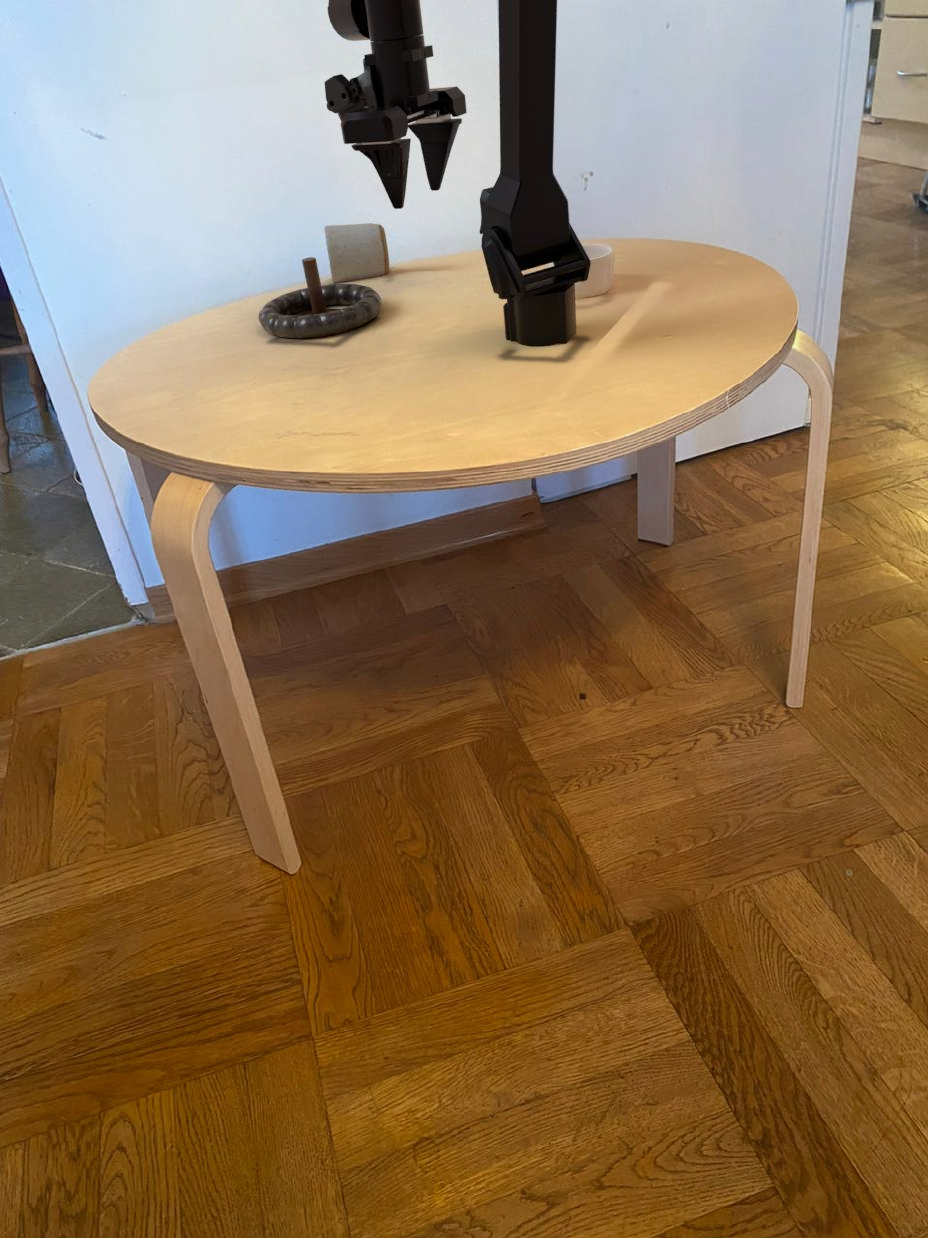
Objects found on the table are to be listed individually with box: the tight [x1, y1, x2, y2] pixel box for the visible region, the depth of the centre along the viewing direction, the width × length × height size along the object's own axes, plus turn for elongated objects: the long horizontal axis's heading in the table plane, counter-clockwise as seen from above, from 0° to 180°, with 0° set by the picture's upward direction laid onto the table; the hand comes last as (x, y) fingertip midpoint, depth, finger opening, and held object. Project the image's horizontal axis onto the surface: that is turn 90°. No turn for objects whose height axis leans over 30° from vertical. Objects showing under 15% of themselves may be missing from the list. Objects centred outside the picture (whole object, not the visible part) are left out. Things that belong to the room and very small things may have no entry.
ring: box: [258, 283, 383, 339], centre depth 103 cm, size 14×14×2 cm
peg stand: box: [297, 256, 340, 336], centre depth 101 cm, size 9×9×8 cm
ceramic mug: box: [323, 222, 391, 284], centre depth 119 cm, size 11×8×8 cm
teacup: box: [546, 242, 615, 300], centre depth 102 cm, size 10×8×5 cm
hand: (417, 198), depth 101 cm, fingers open, 9 cm apart
